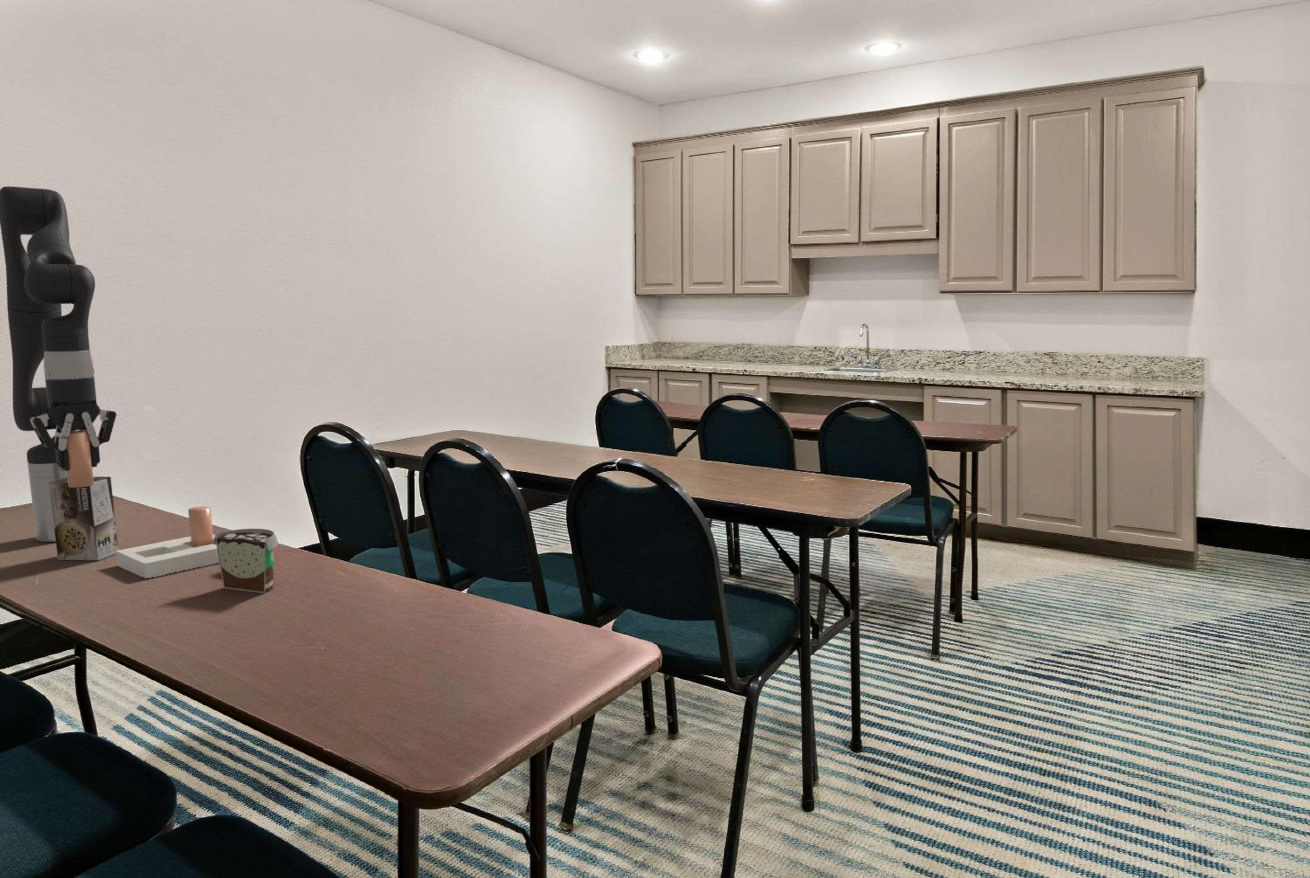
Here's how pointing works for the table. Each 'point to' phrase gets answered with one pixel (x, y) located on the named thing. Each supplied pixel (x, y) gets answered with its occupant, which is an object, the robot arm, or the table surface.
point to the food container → (247, 559)
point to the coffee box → (84, 520)
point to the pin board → (174, 550)
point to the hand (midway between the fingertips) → (79, 467)
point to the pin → (79, 460)
